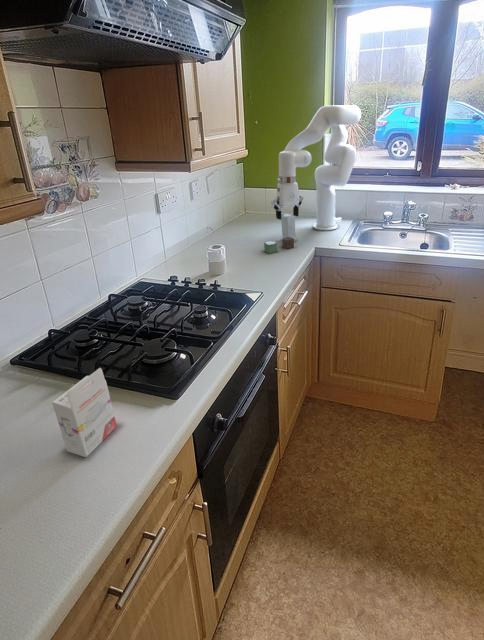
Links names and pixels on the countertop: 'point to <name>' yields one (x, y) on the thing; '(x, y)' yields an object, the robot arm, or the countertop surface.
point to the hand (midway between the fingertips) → (287, 217)
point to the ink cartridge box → (85, 414)
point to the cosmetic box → (288, 226)
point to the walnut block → (288, 242)
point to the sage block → (270, 247)
